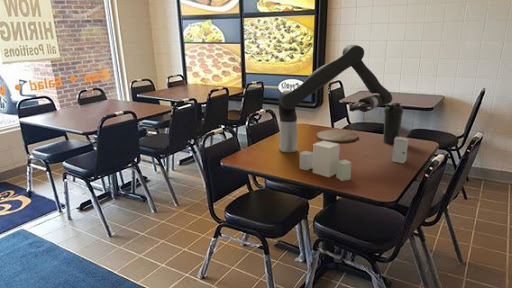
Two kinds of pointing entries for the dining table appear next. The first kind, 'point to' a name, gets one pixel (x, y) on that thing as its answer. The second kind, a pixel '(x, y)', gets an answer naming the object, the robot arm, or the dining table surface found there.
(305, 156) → the grey block
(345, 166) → the sage block
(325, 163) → the cream box with panel
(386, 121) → the water bottle
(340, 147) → the button
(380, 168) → the dining table surface
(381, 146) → the dining table surface
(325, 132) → the trivet
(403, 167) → the dining table surface
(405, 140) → the skincare box
